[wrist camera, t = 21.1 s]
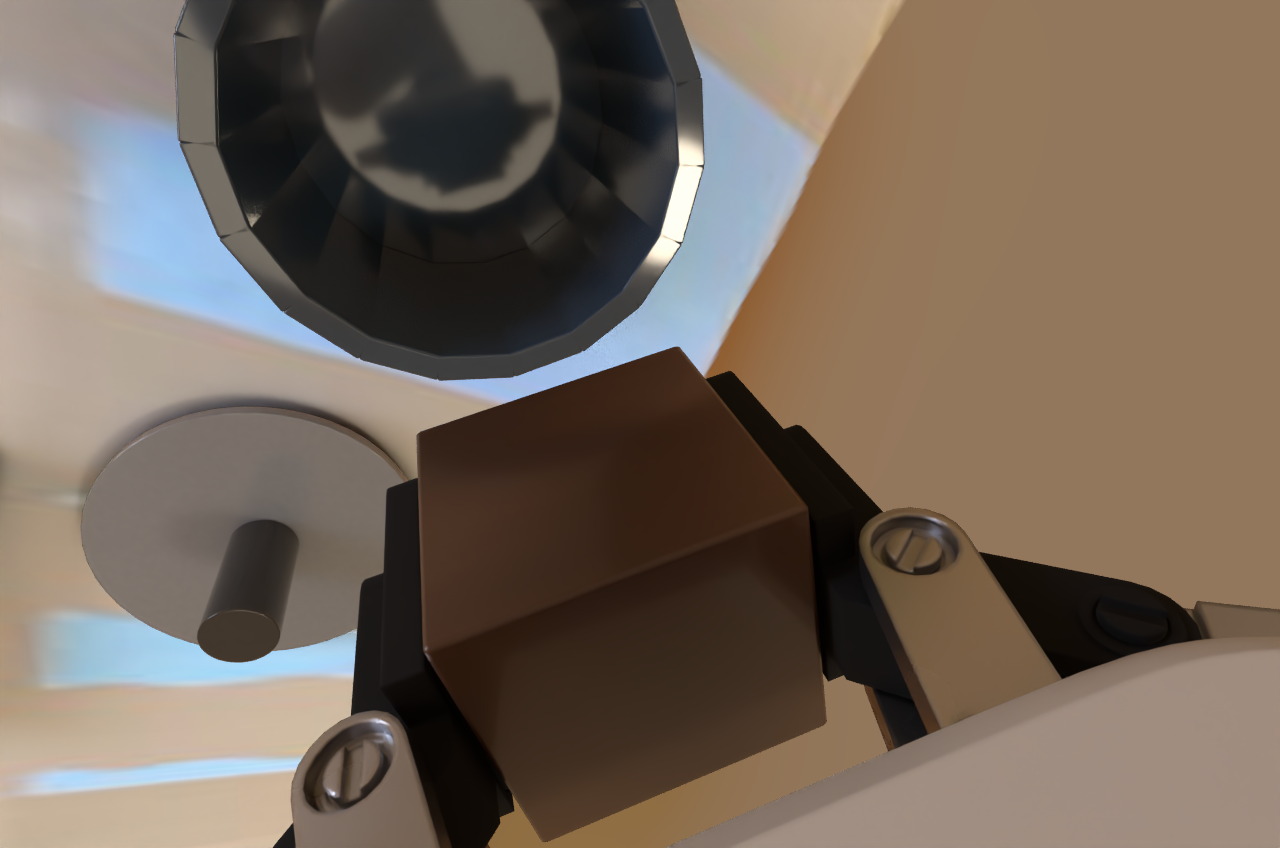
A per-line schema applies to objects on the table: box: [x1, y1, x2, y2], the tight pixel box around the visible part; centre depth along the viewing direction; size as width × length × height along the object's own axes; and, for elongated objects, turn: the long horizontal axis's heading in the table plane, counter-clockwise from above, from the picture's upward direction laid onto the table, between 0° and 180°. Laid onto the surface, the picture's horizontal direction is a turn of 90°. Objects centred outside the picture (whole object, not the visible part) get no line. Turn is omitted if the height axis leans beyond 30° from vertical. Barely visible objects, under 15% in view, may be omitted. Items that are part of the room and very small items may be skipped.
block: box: [417, 347, 827, 842], centre depth 10 cm, size 4×4×4 cm
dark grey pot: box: [173, 0, 704, 381], centre depth 21 cm, size 13×13×10 cm
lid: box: [81, 407, 408, 662], centre depth 29 cm, size 13×13×7 cm
